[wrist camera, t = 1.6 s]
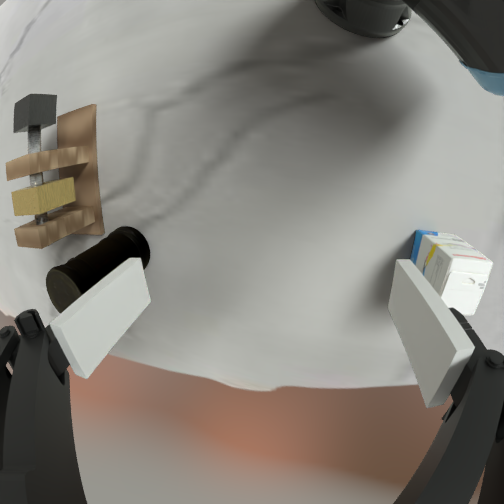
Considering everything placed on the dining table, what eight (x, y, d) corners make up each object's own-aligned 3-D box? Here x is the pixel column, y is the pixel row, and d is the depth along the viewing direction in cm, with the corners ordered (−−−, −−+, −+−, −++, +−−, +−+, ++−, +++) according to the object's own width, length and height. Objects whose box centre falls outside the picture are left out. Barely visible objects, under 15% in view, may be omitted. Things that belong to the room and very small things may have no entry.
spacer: (45, 181, 37) (11, 192, 29) (73, 176, 36) (36, 187, 28) (47, 203, 38) (14, 215, 31) (75, 200, 37) (39, 214, 29)
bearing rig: (61, 116, 38) (3, 119, 24) (96, 104, 36) (33, 101, 23) (70, 231, 47) (18, 259, 33) (104, 232, 45) (49, 265, 31)
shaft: (40, 103, 29) (14, 103, 24) (56, 95, 29) (30, 93, 23) (50, 238, 38) (27, 250, 33) (66, 239, 38) (42, 252, 32)
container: (111, 264, 48) (49, 312, 31) (111, 220, 44) (39, 259, 27) (150, 277, 47) (92, 336, 30) (152, 232, 43) (84, 279, 27)
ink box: (404, 277, 40) (431, 317, 29) (416, 228, 36) (451, 257, 26) (444, 280, 38) (475, 316, 28) (456, 234, 35) (495, 262, 24)
